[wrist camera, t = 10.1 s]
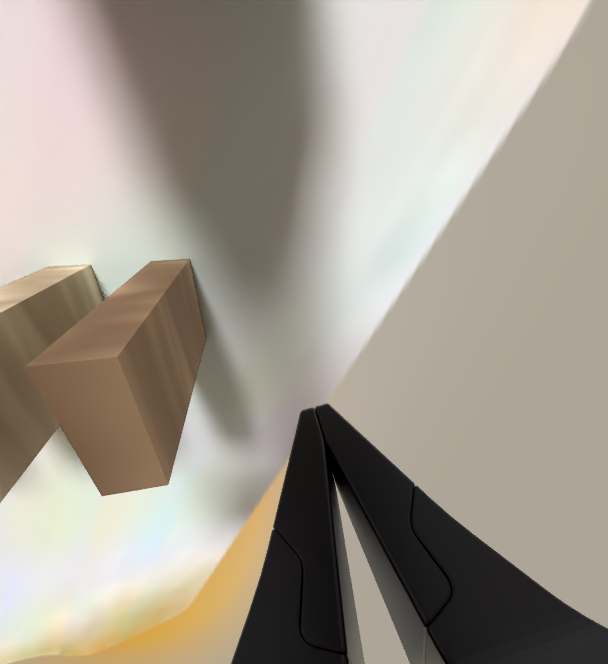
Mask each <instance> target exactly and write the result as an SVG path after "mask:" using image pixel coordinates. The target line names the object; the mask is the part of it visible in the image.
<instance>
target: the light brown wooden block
mask: <svg viewBox="0 0 608 664" xmlns="http://www.w3.org/2000/svg"><path fill="white" fill-rule="evenodd" d="M103 301H104V300H103V297H102V295H101V292H100V289H99V286H98V284H97V281H96V278H95V276H94V273H93V270H92V267H91V265H75V266H55V267H46V268H44V269H42V270H39V271H37V272H35V273H32V274H30V275H28V276H25V277H23V278H21V279H18V280H16V281H14V282H11V283H9V284H7V285H4V286H2V287H0V503H1V501H2V500H3V499H4V497H5V496H6V495H7V493H8V492H9V491H10V490H11V488H12V487H13V486H14V484H15V483H16V482H17V480H18V479H19V478H20V477H21V475H22V474H23V473H24V471H25V470H26V469H27V467H28V466H29V465H30V464H31V462H32V461H33V460H34V458H35V457H36V456H37V454H38V453H39V452H40V451H41V449H42V448H43V447H44V445H45V444H46V443H47V441H48V440H49V439H50V437H51V436H52V435H53V434H54V432H55V431H56V430H57V428H58V427H59V426H60V425H59V423H58V421H57V420H56V418H55V416H54V415H53V413H52V411H51V410H50V408H49V406H48V404H47V403H46V401H45V399H44V398H43V396H42V394H41V393H40V391H39V389H38V388H37V386H36V384H35V383H34V381H33V379H32V378H31V376H30V374H29V372H28V371H27V369H26V367H25V366H26V365H28V364H29V363H30V362H31V361H32V360H34V359H35V358H36V357H37V356H38V355H40V354H41V353H42V352H43V351H44V350H46V349H47V348H48V347H49V346H50V345H52V344H53V343H54V342H55V341H56V340H57V339H59V338H60V337H61V336H62V335H63V334H65V333H66V332H67V331H68V330H69V329H71V328H72V327H73V326H74V325H75V324H77V323H78V322H79V321H80V320H81V319H83V318H84V317H85V316H86V315H87V314H89V313H90V312H91V311H92V310H93V309H95V308H96V307H97V306H98V305H99V304H101V303H102V302H103Z"/></svg>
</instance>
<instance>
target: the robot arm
mask: <svg viewBox="0 0 608 664" xmlns="http://www.w3.org/2000/svg"><path fill="white" fill-rule="evenodd" d="M333 476H334V477H333ZM334 479H335V482H334ZM335 483H336V485H337V488H338V490H339V493H340V495H341V498H342V500H343V502H344V505H345V507H346V510H347V512H348V514H349V517H350V519H351V522H352V524H353V526H354V529H355V532H356V534H357V536H358V539H359V541H360V544H361V546H362V548H363V551H364V553H365V555H366V558H367V561H368V563H369V565H370V568H371V570H372V573H373V575H374V577H375V580H376V582H377V585H378V587H379V589H380V592H381V594H382V597H383V599H384V602H385V604H386V606H387V609H388V611H389V614H390V616H391V618H392V621H393V623H394V625H395V628H396V630H397V633H398V635H399V638H400V640H401V643H402V645H403V647H404V650H405V652H406V655H407V657H408V660H409V662H410V664H608V629H607V628H605V627H604V626H602V625H600V624H598V623H596V622H595V621H593V620H591V619H589V618H587V617H586V616H584V615H582V614H581V613H579V612H578V611H576V610H574V609H572V608H571V607H570V606H568V605H566V604H565V603H563V602H562V601H561V600H559V599H558V598H556V597H555V596H554V595H552V594H551V593H550V592H548V591H547V590H546V589H544V588H543V587H542V586H540V585H539V584H538V583H536V582H535V581H534V580H532V579H531V578H530V577H529V576H527V575H526V574H525V573H523V572H522V571H521V570H519V569H518V568H517V567H515V566H514V565H513V564H511V563H510V562H509V561H508V560H506V559H505V558H504V557H502V556H501V555H500V554H498V553H497V552H496V551H495V550H493V549H491V547H489V546H488V545H487V544H485V543H484V542H483V541H481V540H480V539H479V538H478V537H476V536H475V535H474V534H472V533H471V532H470V531H469V530H467V529H466V528H465V527H464V526H462V525H461V524H460V523H459V522H457V521H456V520H455V519H454V518H452V517H451V516H450V515H449V514H448V513H446V512H445V511H444V510H443V509H442V508H441V507H440V506H439V505H437V504H436V503H435V502H434V501H433V500H431V498H429V497H428V496H427V495H426V494H425V493H424V492H423V491H422V490H421V489H420V488H419V487H418V486H415V485H414V483H413V482H412V481H411V480H410V479H409V478H408V477H407V476H406V475H404V474H403V473H402V472H401V471H400V470H399V469H398V468H397V467H396V466H395V465H394V464H393V463H392V462H391V461H390V460H388V459H387V458H386V457H385V456H384V455H383V454H382V453H381V452H380V451H379V450H378V449H377V448H376V447H374V446H373V445H372V444H371V443H370V442H369V441H368V440H367V439H366V438H365V437H364V436H363V435H362V434H361V433H359V432H358V431H357V430H356V429H355V428H354V427H353V426H352V425H351V424H350V423H349V422H348V421H347V420H345V419H344V418H343V417H342V416H341V415H340V414H339V413H338V412H337V411H336V410H335V409H333V407H331V406H330V405H329V404H323V405H320V406H316V407H315V409H314V408H309V409H306V410H302V411H301V413H300V416H299V421H298V425H297V429H296V433H295V437H294V442H293V446H292V450H291V454H290V458H289V463H288V467H287V471H286V475H285V480H284V483H283V488H282V492H281V496H280V501H279V505H278V509H277V513H276V517H275V521H274V525H273V528H274V530H272V533H271V537H270V541H269V546H268V550H267V553H266V557H265V561H264V565H263V568H262V572H261V576H260V579H259V582H258V586H257V588H256V591H255V595H254V598H253V601H252V604H251V607H250V610H249V613H248V616H247V619H246V622H245V625H244V628H243V630H242V633H241V636H240V639H239V642H238V645H237V648H236V651H235V654H234V656H233V659H232V662H231V664H365V663H364V657H363V651H362V645H361V639H360V633H359V626H358V620H357V614H356V608H355V602H354V596H353V590H352V584H351V577H350V572H349V565H348V559H347V553H346V547H345V541H344V534H343V528H342V523H341V516H340V510H339V504H338V498H337V492H336V486H335Z"/></svg>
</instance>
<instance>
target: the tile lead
mask: <svg viewBox="0 0 608 664" xmlns="http://www.w3.org/2000/svg"><path fill="white" fill-rule="evenodd" d="M205 341H206V334H205V329H204V324H203V320H202V315H201V310H200V306H199V301H198V296H197V291H196V287H195V282H194V277H193V273H192V268H191V263H190V259H181V260H164V261H151V262H150V263H148V264H147V265H146V266H145V267H144V268H142V269H141V270H140V271H139V272H138V273H136V274H135V275H134V276H133V277H132V278H130V279H129V280H128V281H127V282H126V283H125V284H123V285H122V286H121V287H120V288H119V289H117V290H116V291H115V292H114V293H113V294H111V295H110V296H109V297H108V298H107V299H105V300H104V301H103V302H102V303H101V304H99V305H98V306H97V307H96V308H95V309H93V310H92V311H91V312H90V313H89V314H87V315H86V316H85V317H84V318H83V319H81V320H80V321H79V322H78V323H77V324H75V325H74V326H73V327H72V328H71V329H69V330H68V331H67V332H66V333H65V334H63V335H62V336H61V337H60V338H59V339H57V340H56V341H55V342H54V343H53V344H52V345H50V346H49V347H48V348H47V349H46V350H44V351H43V352H42V353H41V354H40V355H38V356H37V357H36V358H35V359H34V360H32V361H31V362H30V363H29V364H28V365H26V366H25V367H26V369H27V371H28V372H29V374H30V376H31V378H32V379H33V381H34V383H35V384H36V386H37V388H38V389H39V391H40V393H41V394H42V396H43V398H44V399H45V401H46V403H47V404H48V406H49V408H50V410H51V411H52V413H53V415H54V416H55V418H56V420H57V421H58V423H59V425H60V426H61V428H62V430H63V431H64V433H65V435H66V436H67V438H68V440H69V442H70V443H71V445H72V447H73V448H74V450H75V452H76V453H77V455H78V457H79V458H80V460H81V462H82V463H83V465H84V467H85V468H86V470H87V472H88V474H89V475H90V477H91V479H92V480H93V482H94V484H95V485H96V487H97V489H98V490H99V492H100V494H101V495H102V496H106V495H112V494H118V493H123V492H129V491H135V490H141V489H147V488H153V487H159V486H165V485H168V484H169V480H170V476H171V473H172V469H173V465H174V461H175V457H176V453H177V449H178V446H179V442H180V438H181V434H182V430H183V426H184V422H185V419H186V415H187V411H188V407H189V403H190V399H191V395H192V392H193V388H194V384H195V380H196V376H197V372H198V368H199V364H200V361H201V357H202V353H203V349H204V345H205Z"/></svg>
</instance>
